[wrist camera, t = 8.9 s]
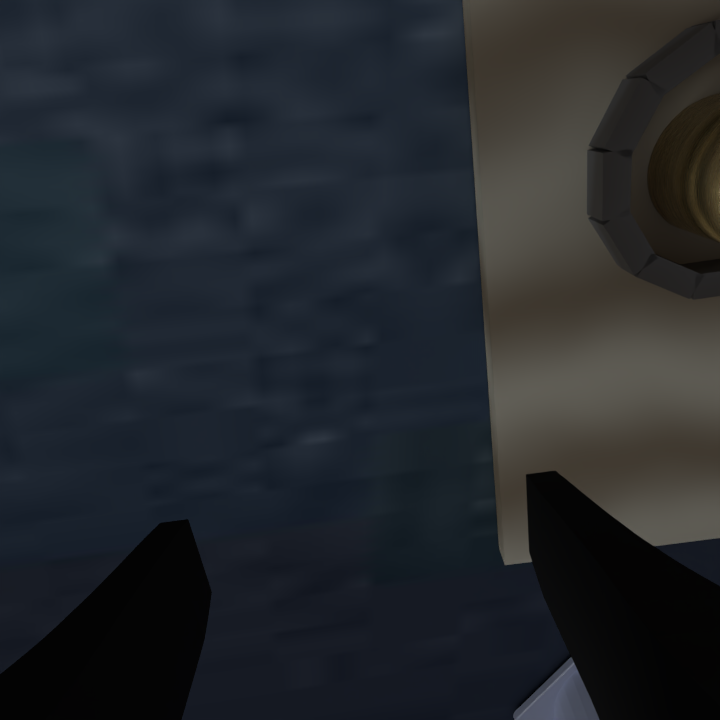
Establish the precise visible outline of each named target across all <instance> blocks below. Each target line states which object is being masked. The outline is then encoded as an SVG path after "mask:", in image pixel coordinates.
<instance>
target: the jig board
mask: <svg viewBox="0 0 720 720" xmlns="http://www.w3.org/2000/svg"><path fill="white" fill-rule="evenodd" d="M462 1H463V16H464V31H465V46H466V60H467V75H468V90H469V105H470V120H471V135H472V150H473V165H474V180H475V195H476V210H477V225H478V240H479V255H480V269H481V284H482V299H483V314H484V329H485V344H486V359H487V374H488V389H489V404H490V419H491V434H492V449H493V464H494V478H495V493H496V508H497V523H498V538H499V549H500V552H501V555H502V558H503V561H504V564H505V565H510V564H518V563H526V562H532V559H531V556H530V553H529V539H528V515H527V491H526V474H532V473H540V472H547V471H557V472H558V473H559V474H560V475H562V476H563V477H564V478H565V479H567V480H568V481H569V482H570V483H571V484H573V485H574V486H575V487H576V488H577V489H579V490H580V491H581V492H582V493H584V494H585V495H586V496H587V497H588V498H590V499H591V500H592V501H593V502H595V503H596V504H597V505H598V506H600V507H601V508H602V509H603V510H605V511H606V512H607V513H609V514H610V515H611V516H612V517H614V518H615V519H616V520H618V521H619V522H620V523H622V524H623V525H625V526H626V527H627V528H629V529H630V530H631V531H633V532H634V533H635V534H637V535H638V536H639V537H641V538H642V539H644V540H645V541H647V542H648V543H650V544H651V545H653V546H659V545H667V544H675V543H683V542H691V541H699V540H707V539H714V538H720V243H719V242H716V241H713V240H710V239H707V238H705V237H702V236H699V235H696V234H694V233H691V232H688V231H685V230H682V229H680V228H677V227H675V226H673V225H671V224H670V223H668V222H667V221H666V220H664V219H663V218H662V217H661V216H660V215H659V213H658V212H657V210H656V209H655V208H654V206H653V203H652V201H651V199H650V195H649V192H648V185H647V172H648V165H649V160H650V156H651V154H652V151H653V148H654V146H655V144H656V142H657V140H658V138H659V136H660V135H661V133H662V132H663V130H664V129H665V128H666V126H667V125H668V124H669V123H670V122H671V120H672V119H673V118H674V117H675V116H676V115H677V114H679V113H680V112H681V111H682V110H684V109H685V108H686V107H688V106H689V105H691V104H692V103H694V102H696V101H698V100H700V99H702V98H705V97H708V96H710V95H714V94H719V93H720V0H462Z"/></svg>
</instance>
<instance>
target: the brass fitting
mask: <svg viewBox="0 0 720 720" xmlns="http://www.w3.org/2000/svg"><path fill="white" fill-rule="evenodd" d="M647 185H648V192H649V195H650V199H651V201H652V203H653V206H654V208H655V209H656V210H657V212H658V213H659V215H660V216H661V217H662V218H663V219H664V220H666V221H667V222H668V223H670V224H671V225H673V226H675V227H677V228H680V229H682V230H685V231H688V232H691V233H694V234H696V235H699V236H702V237H705V238H707V239H710V240H713V241H716V242H719V243H720V93H719V94H714V95H710V96H708V97H705V98H702V99H700V100H698V101H696V102H694V103H692V104H691V105H689V106H688V107H686V108H685V109H684V110H682V111H681V112H680V113H679V114H677V115H676V116H675V117H674V118H673V119H672V120H671V122H670V123H669V124H668V125H667V126H666V128H665V129H664V130H663V132H662V133H661V135H660V136H659V138H658V140H657V142H656V144H655V146H654V148H653V151H652V154H651V156H650V160H649V165H648V172H647Z"/></svg>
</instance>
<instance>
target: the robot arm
mask: <svg viewBox="0 0 720 720" xmlns="http://www.w3.org/2000/svg"><path fill="white" fill-rule="evenodd" d="M526 491H527V515H528V539H529V553H530V556H531V559H532V563H533V566H534V569H535V572H536V575H537V578H538V581H539V584H540V587H541V590H542V593H543V596H544V598H545V601H546V603H547V605H548V607H549V610H550V612H551V614H552V616H553V618H554V621H555V623H556V625H557V627H558V629H559V631H560V634H561V636H562V638H563V640H564V642H565V644H566V647H567V649H568V651H569V653H570V655H571V657H570V658H569V659H568V660H567V661H566V662H565V663H564V664H563V665H562V666H561V667H560V668H559V669H558V670H557V671H556V672H555V673H554V674H553V675H552V676H551V677H550V678H549V679H548V680H547V681H546V682H545V683H544V684H543V685H542V686H541V687H540V688H539V689H538V690H536V691H535V692H534V693H533V694H532V695H531V696H530V697H529V698H528V699H527V700H526V701H525V702H524V703H523V704H522V705H521V706H520V707H519V708H518V709H517V710H516V711H515V712H514V716H513V717H514V720H720V586H718V585H717V584H715V583H713V582H711V581H710V580H708V579H706V578H704V577H703V576H701V575H699V574H697V573H696V572H694V571H692V570H690V569H688V568H687V567H685V566H684V565H682V564H680V563H679V562H677V561H675V560H674V559H672V558H671V557H669V556H668V555H666V554H665V553H663V552H662V551H660V550H659V549H657V548H656V547H654V546H653V545H651V544H650V543H648V542H647V541H645V540H644V539H642V538H641V537H639V536H638V535H637V534H635V533H634V532H633V531H631V530H630V529H629V528H627V527H626V526H625V525H623V524H622V523H620V522H619V521H618V520H616V519H615V518H614V517H612V516H611V515H610V514H609V513H607V512H606V511H605V510H603V509H602V508H601V507H600V506H598V505H597V504H596V503H595V502H593V501H592V500H591V499H590V498H588V497H587V496H586V495H585V494H584V493H582V492H581V491H580V490H579V489H577V488H576V487H575V486H574V485H573V484H571V483H570V482H569V481H568V480H567V479H565V478H564V477H563V476H562V475H560V474H559V473H558V472H557V471H547V472H540V473H532V474H526ZM211 593H212V592H211V589H210V585H209V582H208V579H207V576H206V573H205V570H204V567H203V564H202V561H201V558H200V554H199V551H198V548H197V545H196V542H195V539H194V536H193V533H192V530H191V527H190V523H189V520H188V519H187V520H179V521H172V522H164V523H160V524H159V525H158V526H157V527H156V528H155V529H154V530H153V531H152V532H151V533H150V534H149V535H148V536H147V537H146V538H145V539H144V540H143V541H142V542H141V543H140V544H139V545H138V546H137V547H136V548H135V549H134V550H133V551H132V552H131V553H130V554H129V555H128V556H127V557H126V558H125V560H124V561H123V562H122V563H121V564H120V565H119V566H118V567H117V568H116V569H115V570H114V571H113V572H112V573H111V574H110V575H109V576H108V577H107V578H106V579H105V580H104V581H103V582H102V583H101V584H100V585H99V586H98V587H97V588H96V589H95V590H94V591H93V592H92V593H91V594H90V595H89V596H88V597H87V598H86V599H85V600H84V601H83V602H82V603H81V604H80V605H79V606H78V607H77V608H76V609H74V610H73V611H72V612H71V613H70V614H69V615H68V616H67V617H66V618H65V619H64V620H63V621H62V622H61V623H60V624H59V625H58V626H57V627H56V628H54V629H53V630H52V631H51V632H50V633H49V634H48V635H47V636H46V637H45V638H43V639H42V640H41V641H40V642H39V643H38V644H36V645H35V646H34V647H33V648H32V649H31V650H29V651H28V652H27V653H26V654H25V655H23V656H22V657H21V658H20V659H19V660H17V661H16V662H15V663H14V664H12V665H11V666H10V667H9V668H8V669H6V670H5V671H4V672H3V673H1V674H0V720H181V719H182V716H183V712H184V709H185V706H186V702H187V699H188V695H189V692H190V688H191V685H192V682H193V678H194V675H195V671H196V668H197V664H198V660H199V657H200V653H201V650H202V646H203V642H204V639H205V633H206V627H207V621H208V615H209V607H210V600H211Z"/></svg>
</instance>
